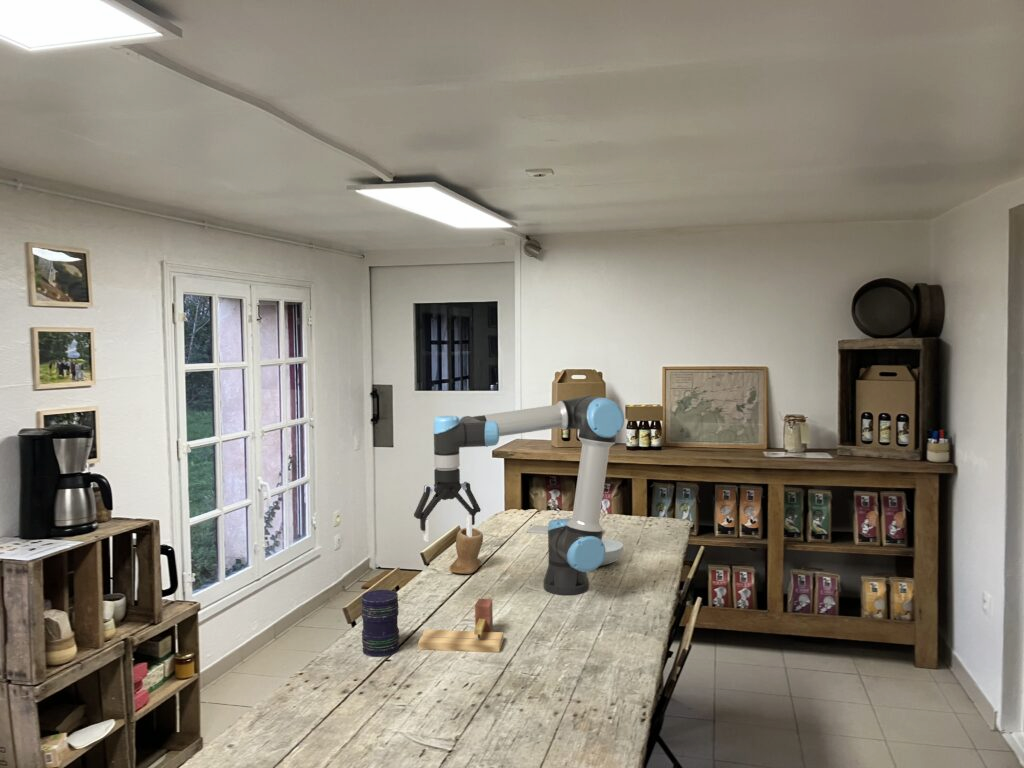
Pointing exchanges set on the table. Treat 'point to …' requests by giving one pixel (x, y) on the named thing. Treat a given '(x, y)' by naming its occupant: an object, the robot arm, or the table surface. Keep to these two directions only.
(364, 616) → the storage jar
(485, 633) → the board
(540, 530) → the baseboard
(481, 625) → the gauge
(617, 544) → the serving bowl
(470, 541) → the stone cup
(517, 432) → the robot arm
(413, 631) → the table surface
